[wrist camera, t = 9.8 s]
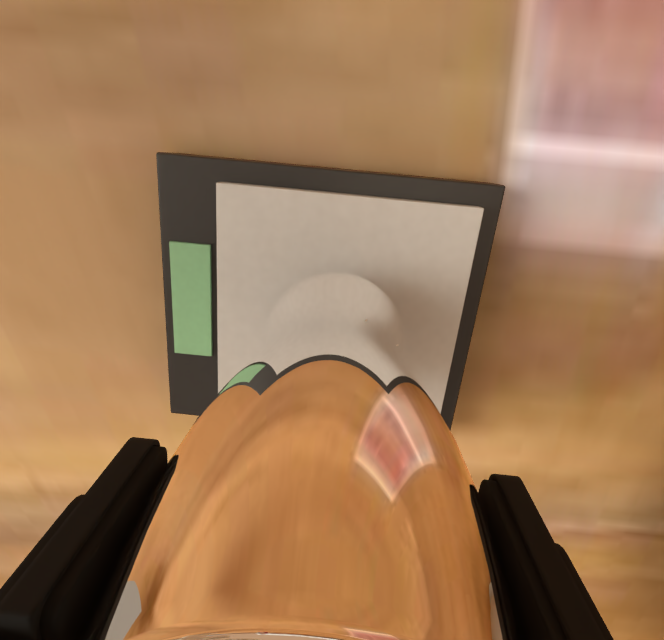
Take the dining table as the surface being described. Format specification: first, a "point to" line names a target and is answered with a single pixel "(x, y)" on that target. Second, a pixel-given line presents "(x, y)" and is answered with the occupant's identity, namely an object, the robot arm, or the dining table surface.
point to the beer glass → (314, 499)
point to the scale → (315, 261)
